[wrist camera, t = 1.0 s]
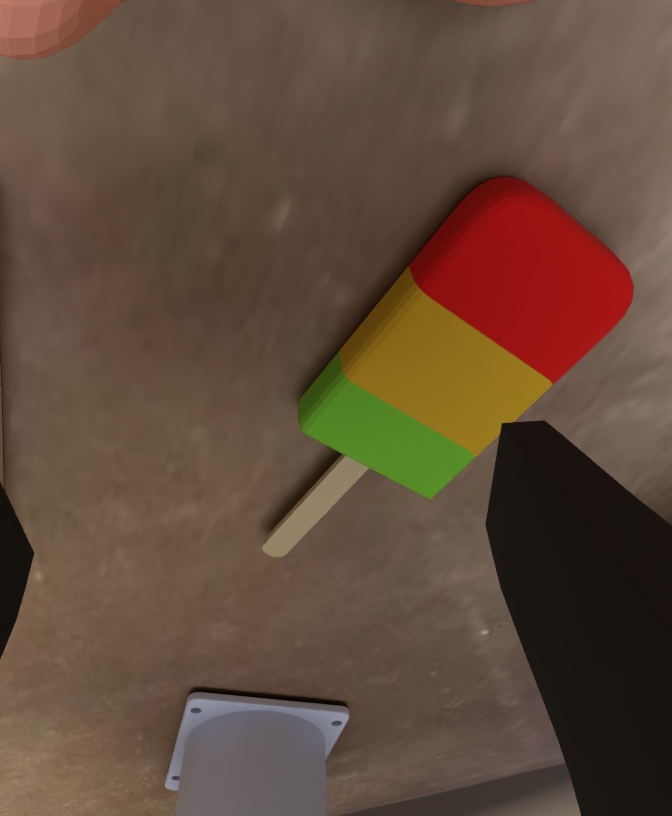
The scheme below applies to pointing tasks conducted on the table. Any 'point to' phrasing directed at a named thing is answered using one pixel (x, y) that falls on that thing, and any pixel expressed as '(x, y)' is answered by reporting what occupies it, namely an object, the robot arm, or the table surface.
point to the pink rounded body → (74, 23)
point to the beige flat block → (1, 440)
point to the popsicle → (459, 346)
